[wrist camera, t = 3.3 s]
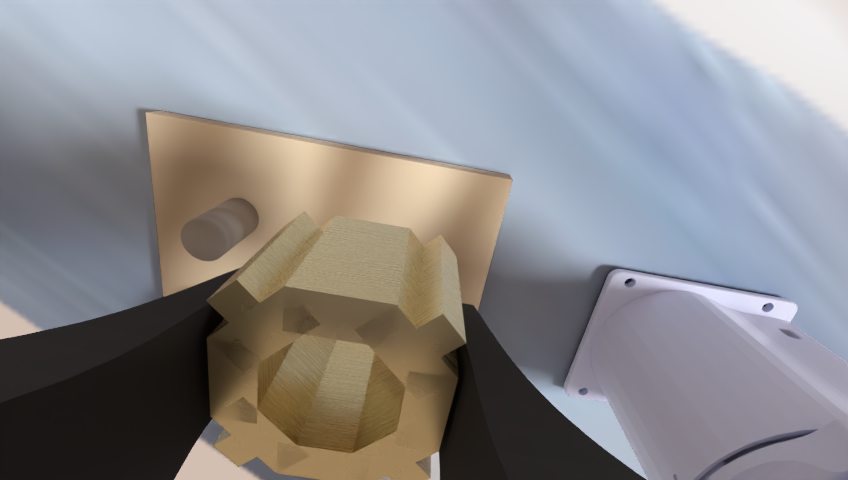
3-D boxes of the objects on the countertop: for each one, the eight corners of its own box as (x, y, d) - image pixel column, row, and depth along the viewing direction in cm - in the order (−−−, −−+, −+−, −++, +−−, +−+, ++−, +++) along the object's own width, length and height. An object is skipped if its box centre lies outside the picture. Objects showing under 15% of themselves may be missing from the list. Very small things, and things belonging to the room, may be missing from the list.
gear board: (509, 175, 18) (526, 199, 14) (452, 390, 23) (454, 449, 19) (161, 110, 18) (85, 118, 14) (180, 343, 22) (128, 395, 19)
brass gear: (461, 237, 11) (474, 317, 7) (430, 376, 13) (427, 496, 9) (283, 206, 11) (203, 272, 7) (277, 351, 13) (212, 463, 9)
